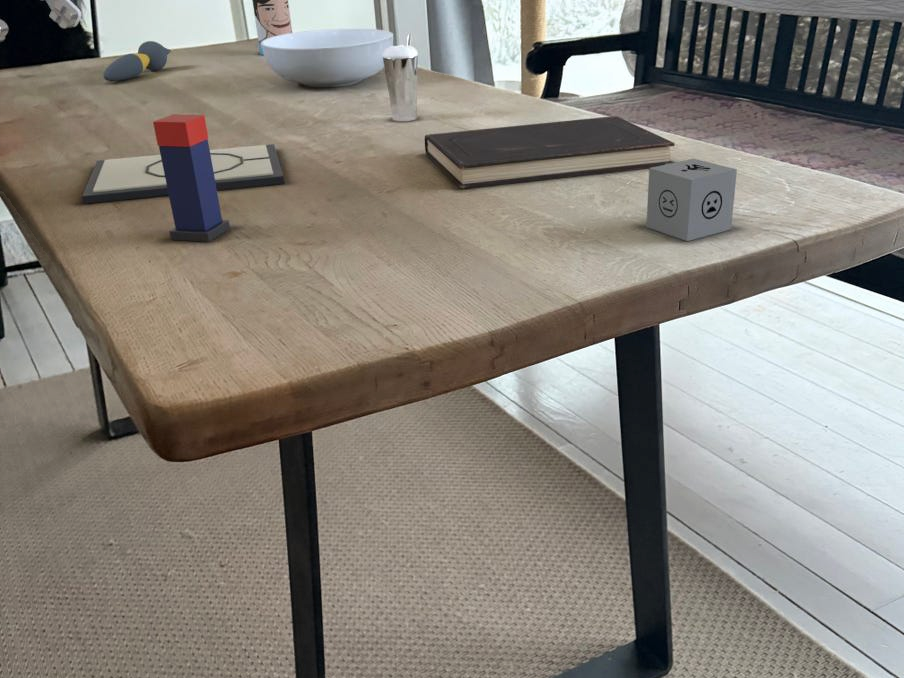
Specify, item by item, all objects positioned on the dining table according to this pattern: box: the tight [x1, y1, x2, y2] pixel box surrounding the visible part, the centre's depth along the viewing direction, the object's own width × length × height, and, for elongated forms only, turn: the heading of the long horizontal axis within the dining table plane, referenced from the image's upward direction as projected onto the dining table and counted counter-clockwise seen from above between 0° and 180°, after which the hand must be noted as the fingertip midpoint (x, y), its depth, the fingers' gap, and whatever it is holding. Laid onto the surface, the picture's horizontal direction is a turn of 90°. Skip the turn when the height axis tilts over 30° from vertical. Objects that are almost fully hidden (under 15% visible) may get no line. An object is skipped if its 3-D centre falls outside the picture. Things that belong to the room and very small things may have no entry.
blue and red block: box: [152, 113, 231, 243], centre depth 82 cm, size 4×4×10 cm
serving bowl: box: [261, 28, 394, 88], centre depth 152 cm, size 21×21×7 cm
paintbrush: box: [102, 40, 172, 82], centre depth 168 cm, size 20×5×5 cm, turn 170°
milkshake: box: [382, 33, 419, 122], centre depth 124 cm, size 5×5×10 cm
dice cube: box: [645, 158, 738, 242], centre depth 80 cm, size 5×5×5 cm
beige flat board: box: [81, 143, 285, 205], centre depth 104 cm, size 20×16×1 cm
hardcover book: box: [424, 115, 675, 190], centre depth 103 cm, size 16×23×2 cm
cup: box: [252, 0, 293, 56], centre depth 184 cm, size 7×7×15 cm
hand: (39, 29), depth 80 cm, fingers open, 8 cm apart
